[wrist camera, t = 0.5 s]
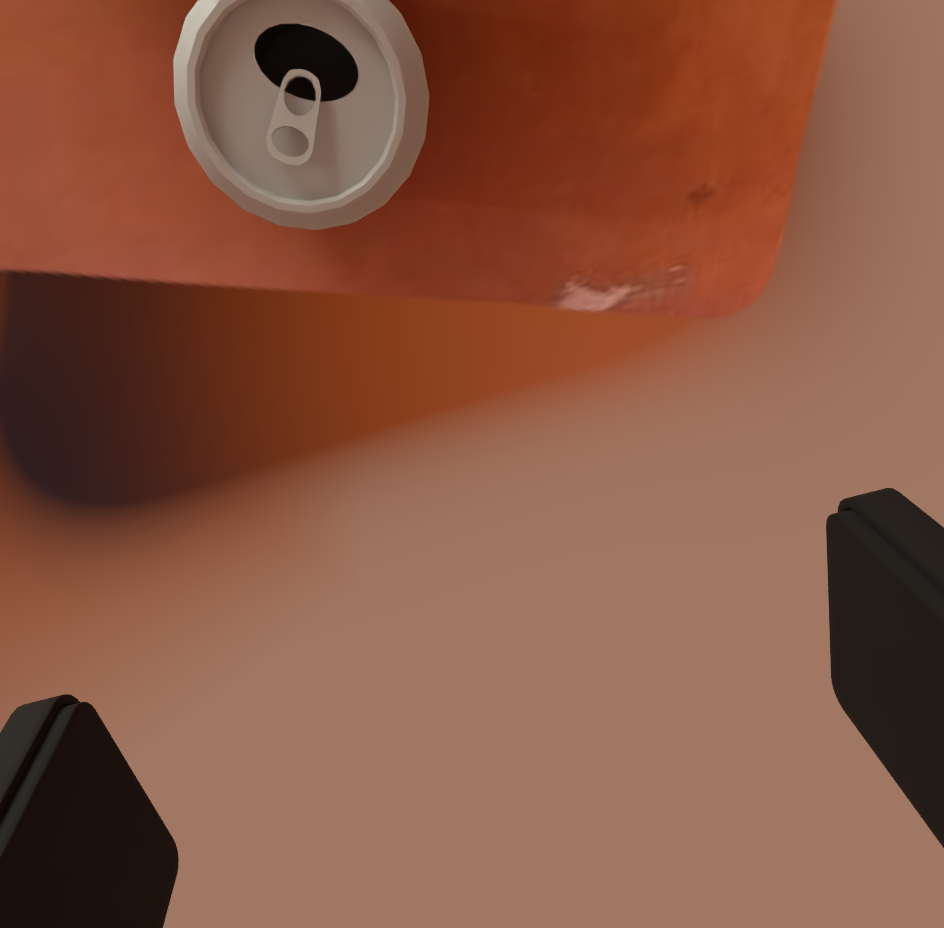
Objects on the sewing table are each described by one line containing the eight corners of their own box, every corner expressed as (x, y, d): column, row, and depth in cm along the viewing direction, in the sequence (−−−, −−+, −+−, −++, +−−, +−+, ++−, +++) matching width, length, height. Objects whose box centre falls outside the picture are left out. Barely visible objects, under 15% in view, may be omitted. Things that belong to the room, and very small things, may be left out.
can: (439, 28, 32) (464, -2, 21) (393, 213, 35) (395, 269, 24) (253, -37, 30) (177, -105, 20) (221, 162, 33) (140, 198, 23)
